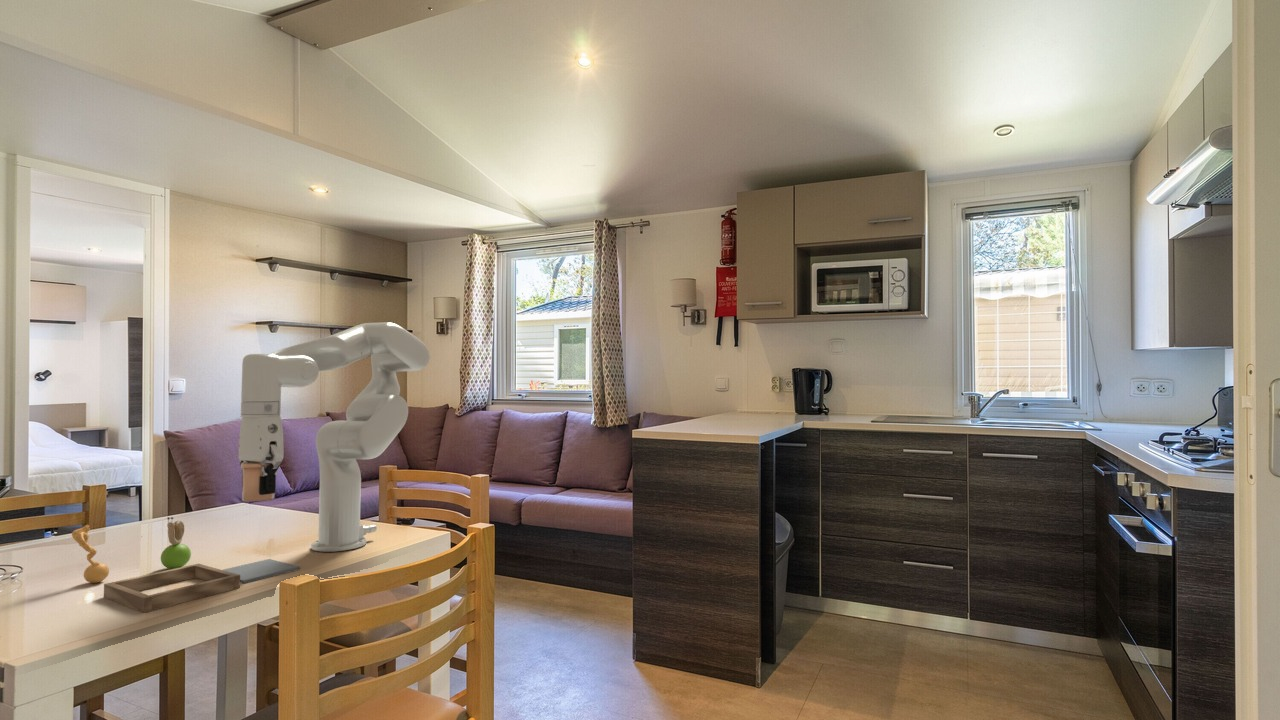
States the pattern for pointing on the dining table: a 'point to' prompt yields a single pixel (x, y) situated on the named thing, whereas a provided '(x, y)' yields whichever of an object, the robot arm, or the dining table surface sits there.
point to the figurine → (95, 570)
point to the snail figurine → (175, 547)
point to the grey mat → (261, 570)
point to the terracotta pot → (253, 483)
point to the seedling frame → (130, 596)
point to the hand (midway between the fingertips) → (258, 491)
